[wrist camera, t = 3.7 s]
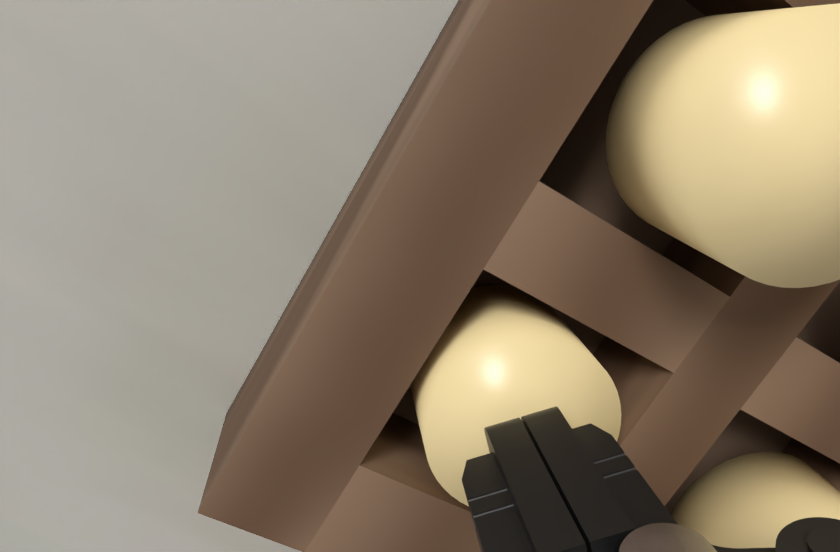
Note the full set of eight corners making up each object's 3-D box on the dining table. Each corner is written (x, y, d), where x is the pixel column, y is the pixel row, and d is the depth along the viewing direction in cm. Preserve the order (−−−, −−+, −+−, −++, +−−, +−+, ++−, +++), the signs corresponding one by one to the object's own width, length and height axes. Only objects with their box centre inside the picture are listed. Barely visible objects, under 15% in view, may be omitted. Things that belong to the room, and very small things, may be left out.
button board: (226, 414, 18) (197, 512, 14) (582, -219, 14) (674, -319, 10) (694, 609, 22) (768, 724, 18) (1055, 174, 18) (1241, 205, 15)
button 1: (376, 395, 16) (386, 471, 13) (463, 254, 16) (494, 304, 13) (512, 457, 18) (549, 540, 15) (600, 330, 17) (660, 391, 14)
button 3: (564, 171, 13) (636, 208, 10) (694, -33, 12) (819, -63, 9) (722, 269, 14) (831, 330, 11) (852, 90, 13) (1012, 102, 10)
